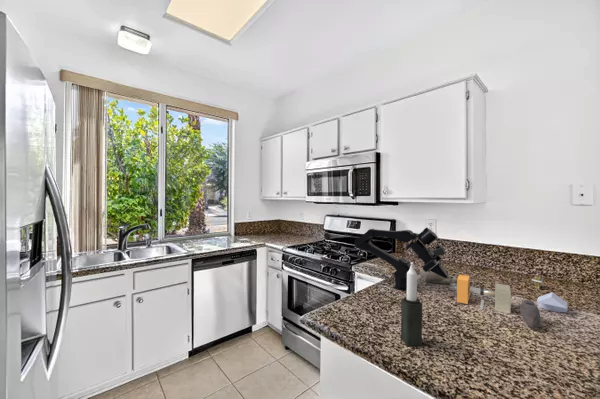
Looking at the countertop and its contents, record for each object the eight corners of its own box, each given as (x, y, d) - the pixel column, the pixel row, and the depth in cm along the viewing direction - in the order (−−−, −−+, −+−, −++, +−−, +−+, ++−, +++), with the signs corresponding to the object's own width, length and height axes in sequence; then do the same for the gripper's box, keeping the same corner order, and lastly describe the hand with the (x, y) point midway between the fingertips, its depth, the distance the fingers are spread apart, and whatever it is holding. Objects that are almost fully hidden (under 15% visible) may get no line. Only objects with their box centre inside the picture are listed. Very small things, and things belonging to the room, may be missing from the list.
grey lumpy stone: (434, 298, 144) (461, 286, 140) (429, 289, 140) (456, 277, 136) (420, 276, 158) (444, 264, 154) (415, 267, 154) (439, 255, 150)
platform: (520, 289, 138) (520, 276, 138) (525, 282, 151) (525, 270, 151) (552, 295, 130) (552, 281, 130) (554, 287, 142) (554, 275, 142)
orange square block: (456, 301, 117) (457, 279, 117) (459, 295, 125) (459, 274, 125) (467, 304, 114) (467, 280, 114) (469, 297, 122) (469, 275, 122)
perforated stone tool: (543, 334, 89) (543, 314, 89) (523, 330, 93) (523, 310, 93) (537, 319, 102) (537, 300, 102) (519, 315, 105) (519, 297, 105)
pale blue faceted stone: (567, 317, 104) (567, 308, 113) (567, 300, 104) (567, 292, 113) (536, 310, 110) (539, 302, 119) (536, 294, 110) (539, 287, 119)
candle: (399, 338, 86) (400, 260, 86) (414, 337, 86) (415, 260, 86) (407, 346, 81) (408, 264, 81) (423, 346, 81) (424, 264, 81)
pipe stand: (448, 302, 117) (448, 282, 117) (452, 294, 128) (452, 275, 128) (510, 315, 104) (510, 292, 104) (509, 305, 115) (509, 284, 115)
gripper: (430, 242, 119) (458, 271, 113) (437, 238, 134) (463, 263, 128) (412, 258, 124) (438, 286, 117) (420, 252, 139) (444, 277, 132)
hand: (446, 277), depth 123 cm, fingers closed
